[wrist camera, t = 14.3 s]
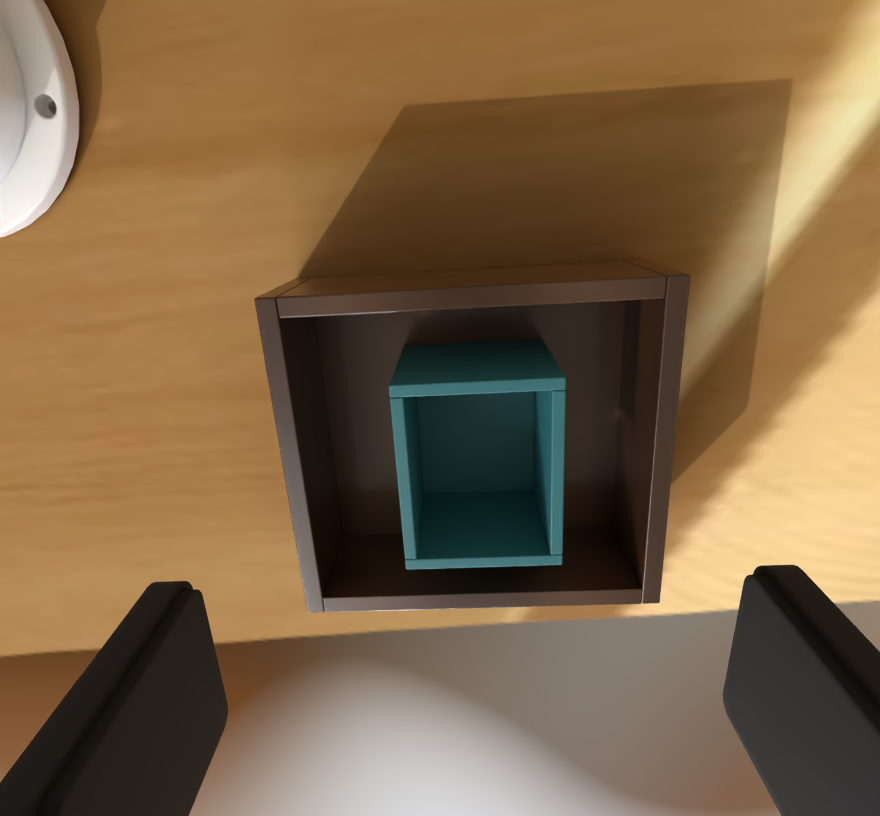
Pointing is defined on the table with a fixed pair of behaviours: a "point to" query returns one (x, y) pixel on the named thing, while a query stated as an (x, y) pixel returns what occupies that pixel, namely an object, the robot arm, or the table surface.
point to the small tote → (479, 453)
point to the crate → (476, 320)
